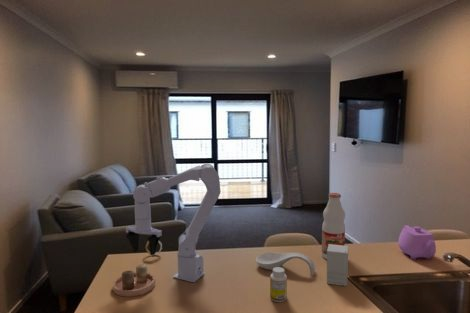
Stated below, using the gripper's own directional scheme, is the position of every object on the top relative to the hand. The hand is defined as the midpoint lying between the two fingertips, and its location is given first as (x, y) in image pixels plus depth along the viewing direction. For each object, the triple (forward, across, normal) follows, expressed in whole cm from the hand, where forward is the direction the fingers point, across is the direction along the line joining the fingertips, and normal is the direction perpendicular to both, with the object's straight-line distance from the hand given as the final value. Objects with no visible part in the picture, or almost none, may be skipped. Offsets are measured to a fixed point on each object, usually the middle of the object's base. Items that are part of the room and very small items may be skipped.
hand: (144, 252), depth 128 cm
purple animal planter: (+11, -99, -59) cm, 116 cm away
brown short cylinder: (+10, +1, +9) cm, 13 cm away
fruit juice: (+11, -65, -45) cm, 80 cm away
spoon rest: (+11, -48, -26) cm, 56 cm away
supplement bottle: (+11, -50, -4) cm, 52 cm away
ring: (+11, +9, -20) cm, 24 cm away
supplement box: (+11, -68, -24) cm, 73 cm away
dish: (+10, 0, +6) cm, 12 cm away
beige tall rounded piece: (+10, -1, +3) cm, 10 cm away
